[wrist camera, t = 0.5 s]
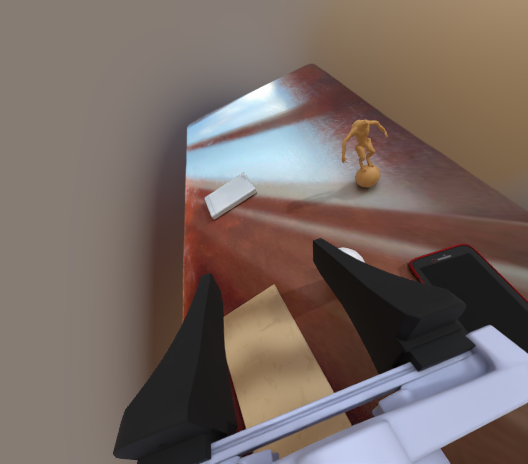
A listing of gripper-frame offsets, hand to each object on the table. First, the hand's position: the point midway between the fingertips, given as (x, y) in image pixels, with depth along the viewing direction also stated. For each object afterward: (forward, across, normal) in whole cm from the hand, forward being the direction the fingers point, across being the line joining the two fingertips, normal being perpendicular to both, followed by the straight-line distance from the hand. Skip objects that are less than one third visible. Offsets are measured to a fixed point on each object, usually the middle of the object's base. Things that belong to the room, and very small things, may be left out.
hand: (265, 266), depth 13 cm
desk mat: (+1, +2, +21) cm, 22 cm away
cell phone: (-2, -23, +15) cm, 28 cm away
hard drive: (+36, +1, +11) cm, 38 cm away
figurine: (+21, -24, +8) cm, 33 cm away
